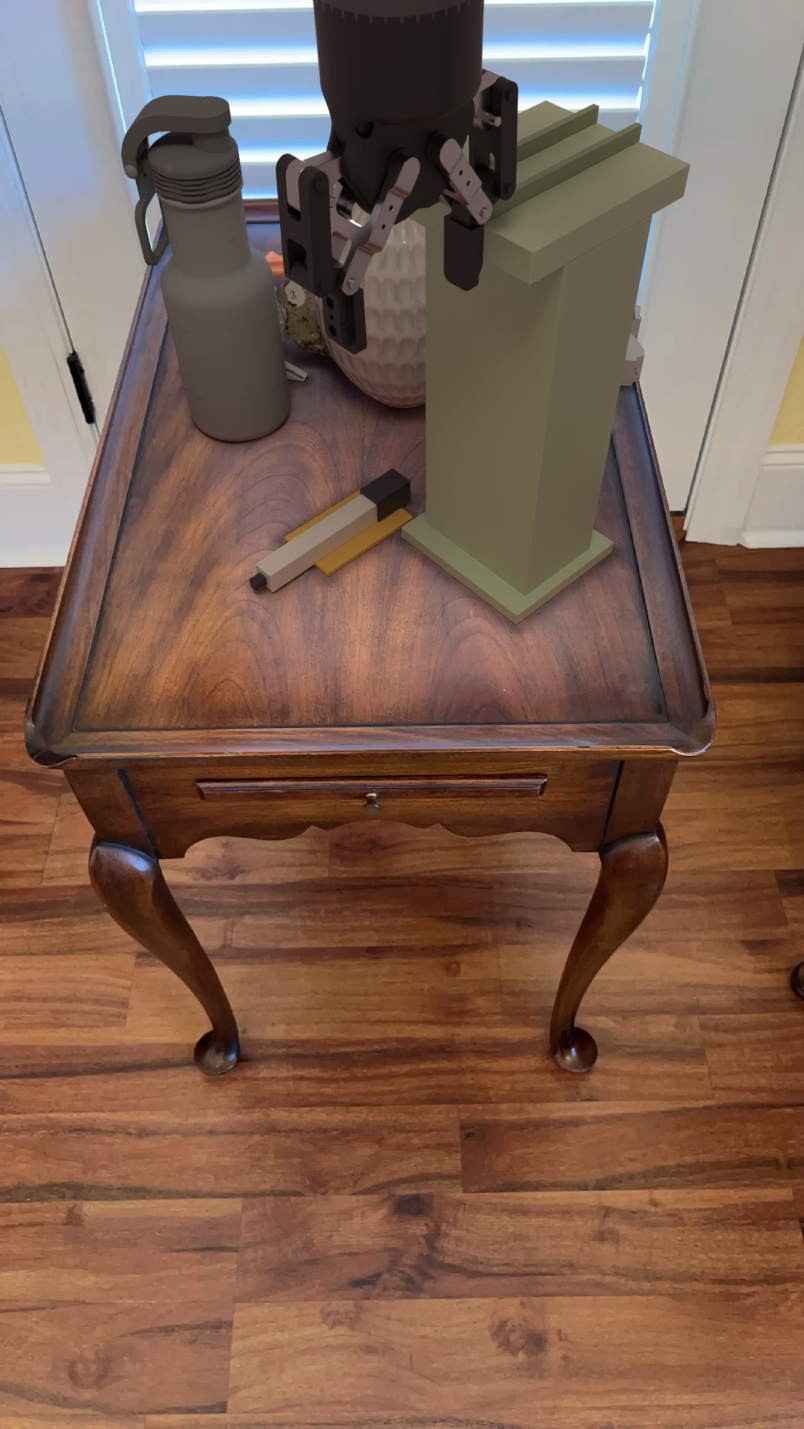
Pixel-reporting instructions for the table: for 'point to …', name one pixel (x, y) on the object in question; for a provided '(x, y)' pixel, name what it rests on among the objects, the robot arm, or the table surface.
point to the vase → (390, 319)
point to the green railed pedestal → (535, 358)
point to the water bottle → (209, 266)
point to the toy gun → (633, 353)
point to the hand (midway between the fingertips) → (407, 314)
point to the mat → (357, 543)
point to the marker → (333, 531)
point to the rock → (302, 318)
